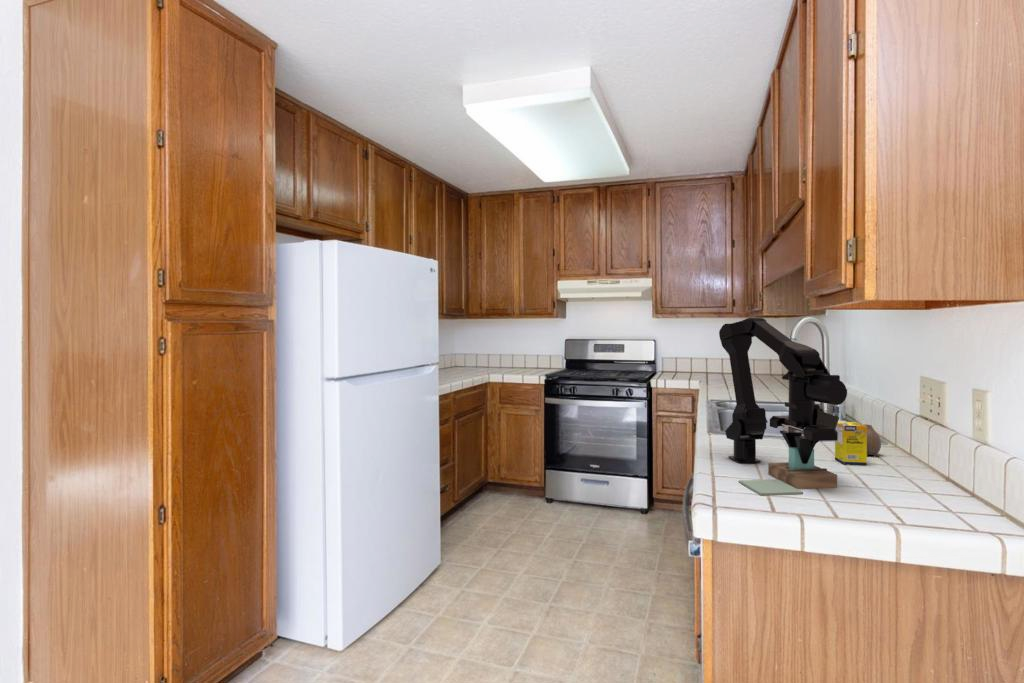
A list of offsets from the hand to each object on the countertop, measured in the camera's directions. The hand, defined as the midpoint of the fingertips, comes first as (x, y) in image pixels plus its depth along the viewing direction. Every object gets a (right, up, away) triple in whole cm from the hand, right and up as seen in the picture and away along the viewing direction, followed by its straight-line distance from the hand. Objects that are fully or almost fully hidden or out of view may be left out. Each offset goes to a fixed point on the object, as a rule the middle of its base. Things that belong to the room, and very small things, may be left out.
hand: (801, 462), depth 129 cm
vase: (+33, -4, +25) cm, 42 cm away
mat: (-11, -5, -6) cm, 13 cm away
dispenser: (0, -5, 0) cm, 5 cm away
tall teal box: (0, -5, 0) cm, 5 cm away
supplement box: (+23, -4, +17) cm, 29 cm away
